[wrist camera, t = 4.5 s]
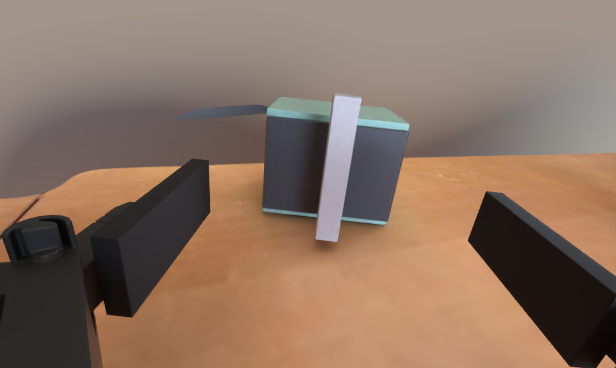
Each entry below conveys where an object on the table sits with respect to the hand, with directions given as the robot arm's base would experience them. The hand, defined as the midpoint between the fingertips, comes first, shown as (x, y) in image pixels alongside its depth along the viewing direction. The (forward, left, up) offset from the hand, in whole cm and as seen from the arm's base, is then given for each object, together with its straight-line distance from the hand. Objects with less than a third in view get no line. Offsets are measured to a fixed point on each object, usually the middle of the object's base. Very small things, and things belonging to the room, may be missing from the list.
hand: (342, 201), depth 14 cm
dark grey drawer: (-5, +10, -6) cm, 13 cm away
